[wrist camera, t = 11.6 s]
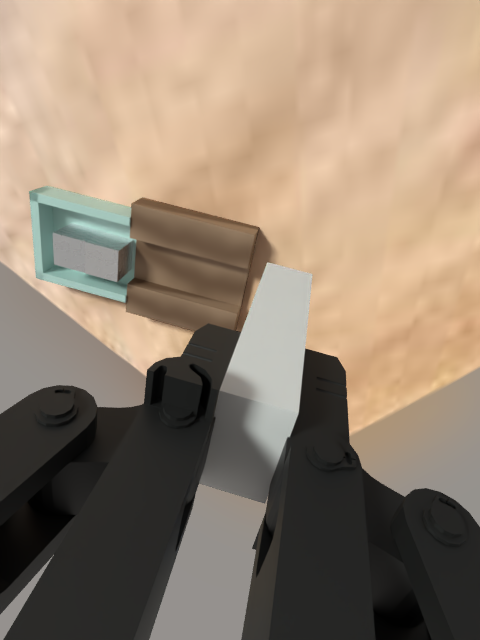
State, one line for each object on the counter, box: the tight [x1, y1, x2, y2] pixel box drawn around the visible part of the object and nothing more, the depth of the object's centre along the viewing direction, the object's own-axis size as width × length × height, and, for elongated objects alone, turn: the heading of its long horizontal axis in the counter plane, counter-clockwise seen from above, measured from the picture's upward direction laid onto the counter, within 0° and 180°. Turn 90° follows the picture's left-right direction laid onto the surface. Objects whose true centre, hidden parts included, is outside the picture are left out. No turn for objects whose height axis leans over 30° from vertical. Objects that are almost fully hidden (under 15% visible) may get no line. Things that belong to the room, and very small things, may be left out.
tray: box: [29, 186, 136, 302], centre depth 49 cm, size 11×12×3 cm
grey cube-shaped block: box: [53, 223, 102, 273], centre depth 48 cm, size 4×4×4 cm
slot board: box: [126, 197, 259, 331], centre depth 48 cm, size 14×14×3 cm
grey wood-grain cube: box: [85, 232, 133, 282], centre depth 48 cm, size 4×4×4 cm
